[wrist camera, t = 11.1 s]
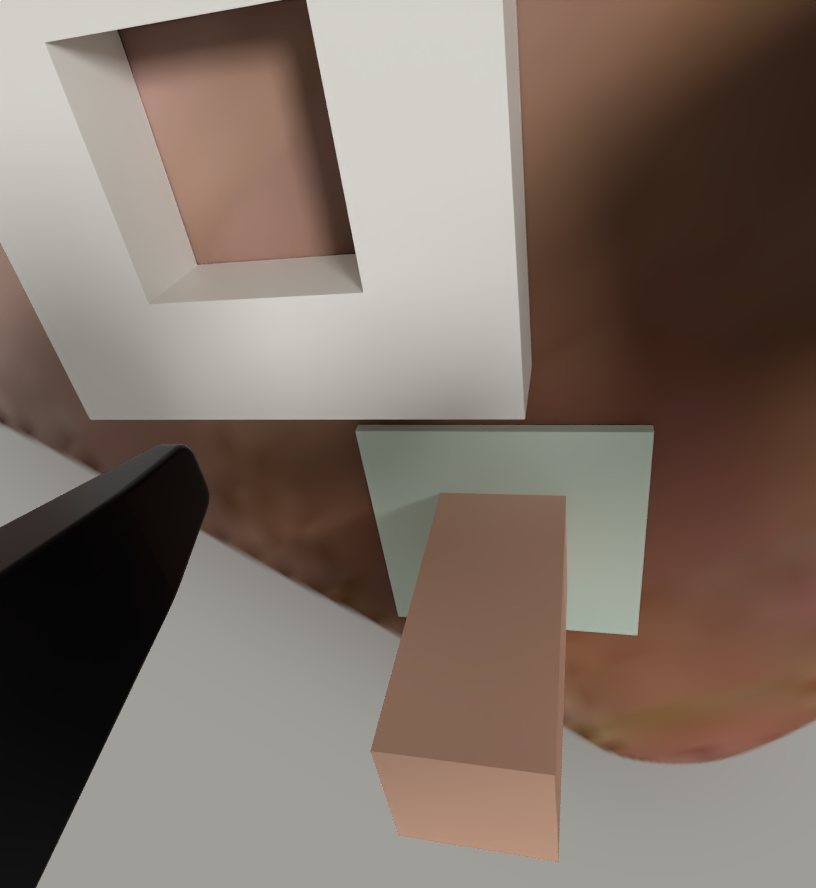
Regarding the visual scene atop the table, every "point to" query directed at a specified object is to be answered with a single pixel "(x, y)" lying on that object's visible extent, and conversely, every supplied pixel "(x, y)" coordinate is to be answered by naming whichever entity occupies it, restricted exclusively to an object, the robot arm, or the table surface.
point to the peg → (481, 680)
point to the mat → (522, 473)
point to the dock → (280, 280)
